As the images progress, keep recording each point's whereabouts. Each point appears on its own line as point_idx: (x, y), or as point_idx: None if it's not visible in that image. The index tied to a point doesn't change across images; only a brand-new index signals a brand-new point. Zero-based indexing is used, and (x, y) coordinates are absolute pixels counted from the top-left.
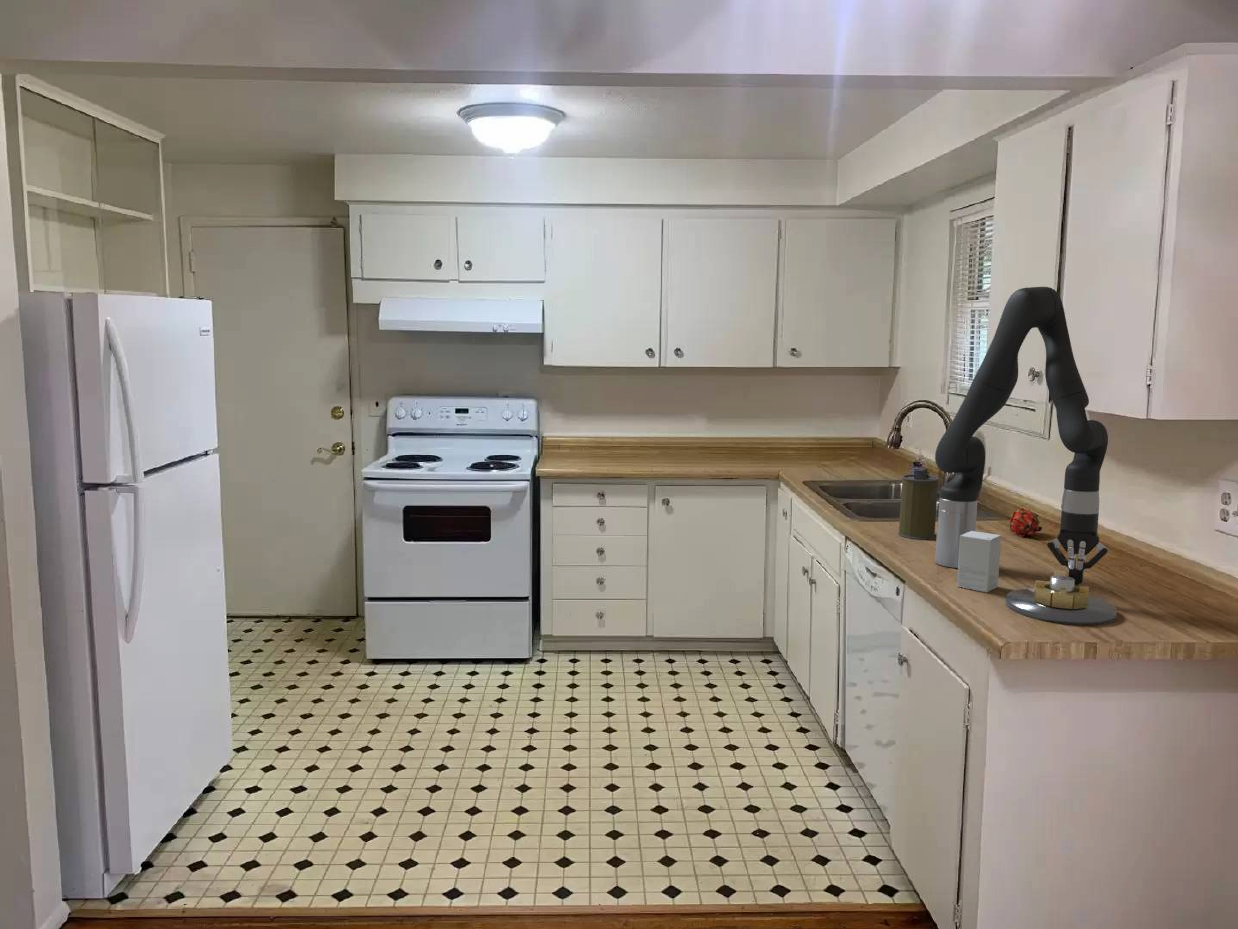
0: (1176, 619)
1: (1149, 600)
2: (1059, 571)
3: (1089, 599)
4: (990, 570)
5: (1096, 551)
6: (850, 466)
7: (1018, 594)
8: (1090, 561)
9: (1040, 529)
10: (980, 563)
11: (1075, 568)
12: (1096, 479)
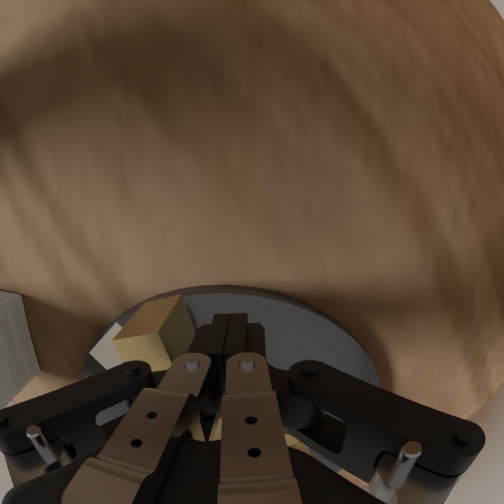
0: (490, 296)
1: (444, 124)
2: (140, 355)
3: (301, 357)
4: (4, 392)
5: (375, 485)
6: None
7: (109, 417)
8: (319, 448)
9: None
10: None
11: (218, 379)
12: None
